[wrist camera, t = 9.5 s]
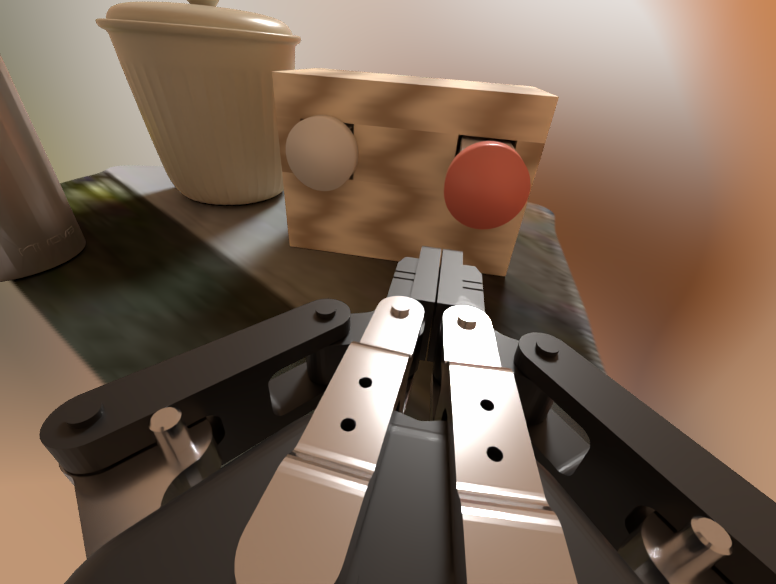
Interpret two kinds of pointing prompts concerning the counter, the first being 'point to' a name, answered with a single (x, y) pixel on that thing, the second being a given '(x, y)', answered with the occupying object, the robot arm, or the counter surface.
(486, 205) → the red plug
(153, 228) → the counter surface
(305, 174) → the beige plug
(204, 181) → the canister
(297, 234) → the block
